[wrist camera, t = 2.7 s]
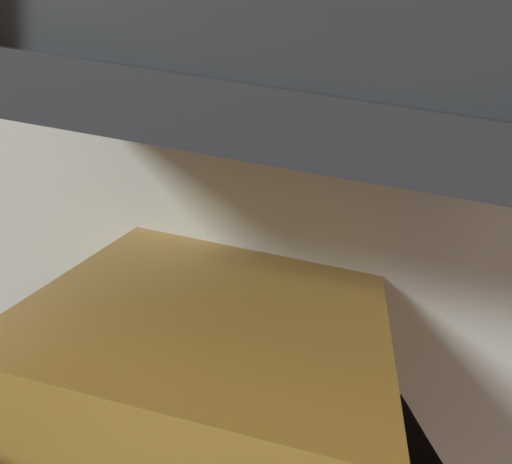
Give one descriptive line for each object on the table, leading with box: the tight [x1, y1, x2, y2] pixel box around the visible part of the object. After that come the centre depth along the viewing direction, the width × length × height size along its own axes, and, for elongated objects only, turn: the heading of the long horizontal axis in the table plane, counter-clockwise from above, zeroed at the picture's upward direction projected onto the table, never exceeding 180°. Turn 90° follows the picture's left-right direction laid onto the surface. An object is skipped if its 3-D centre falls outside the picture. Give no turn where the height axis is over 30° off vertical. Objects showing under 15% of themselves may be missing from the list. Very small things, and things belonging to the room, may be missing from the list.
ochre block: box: [0, 227, 410, 464], centre depth 8 cm, size 5×5×5 cm
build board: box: [0, 119, 512, 464], centre depth 9 cm, size 20×14×1 cm
